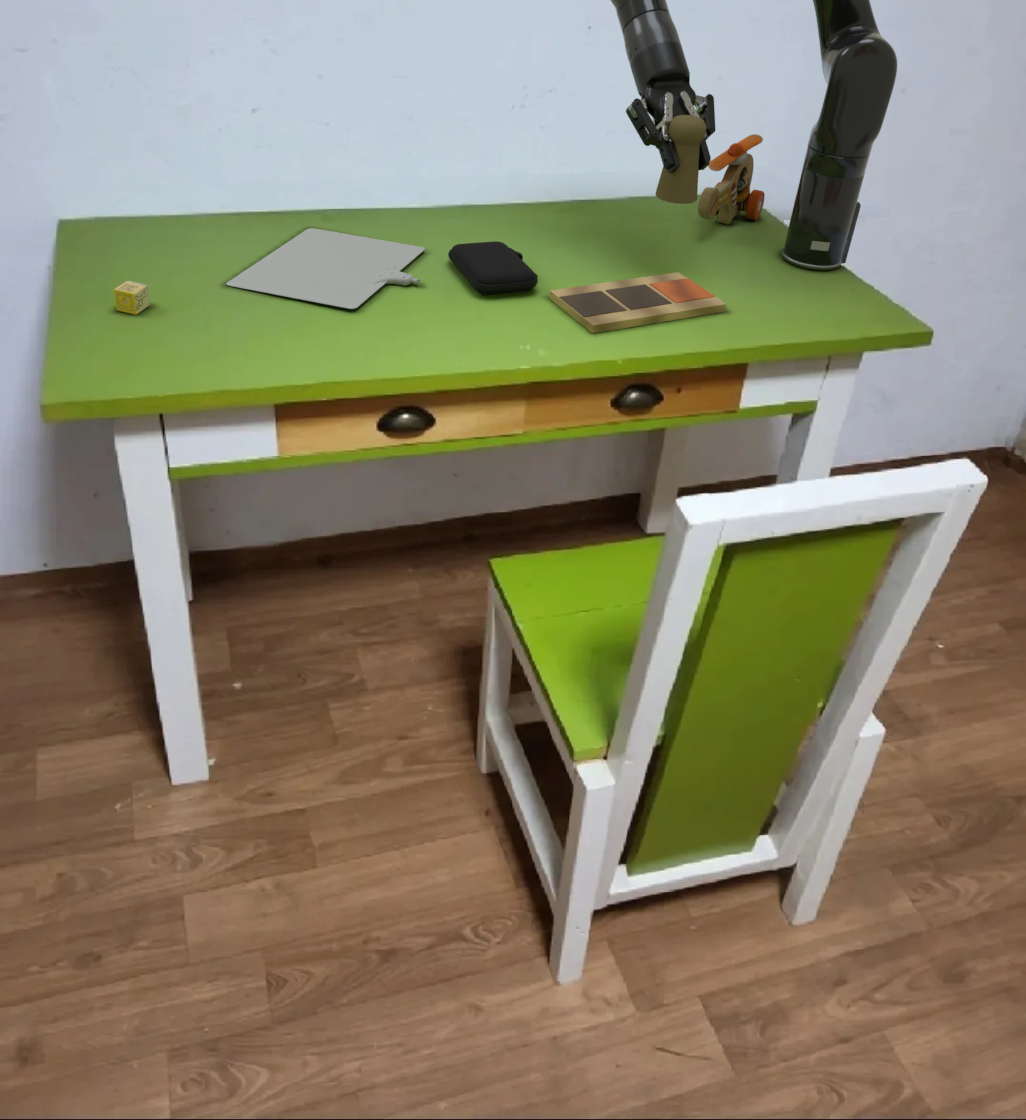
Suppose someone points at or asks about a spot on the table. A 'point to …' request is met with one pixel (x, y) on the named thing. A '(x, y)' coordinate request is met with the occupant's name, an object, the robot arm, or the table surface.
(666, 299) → the board
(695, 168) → the olive brown pawn
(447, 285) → the table surface
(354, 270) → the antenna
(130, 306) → the alphabet block
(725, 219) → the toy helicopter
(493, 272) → the carrying case
